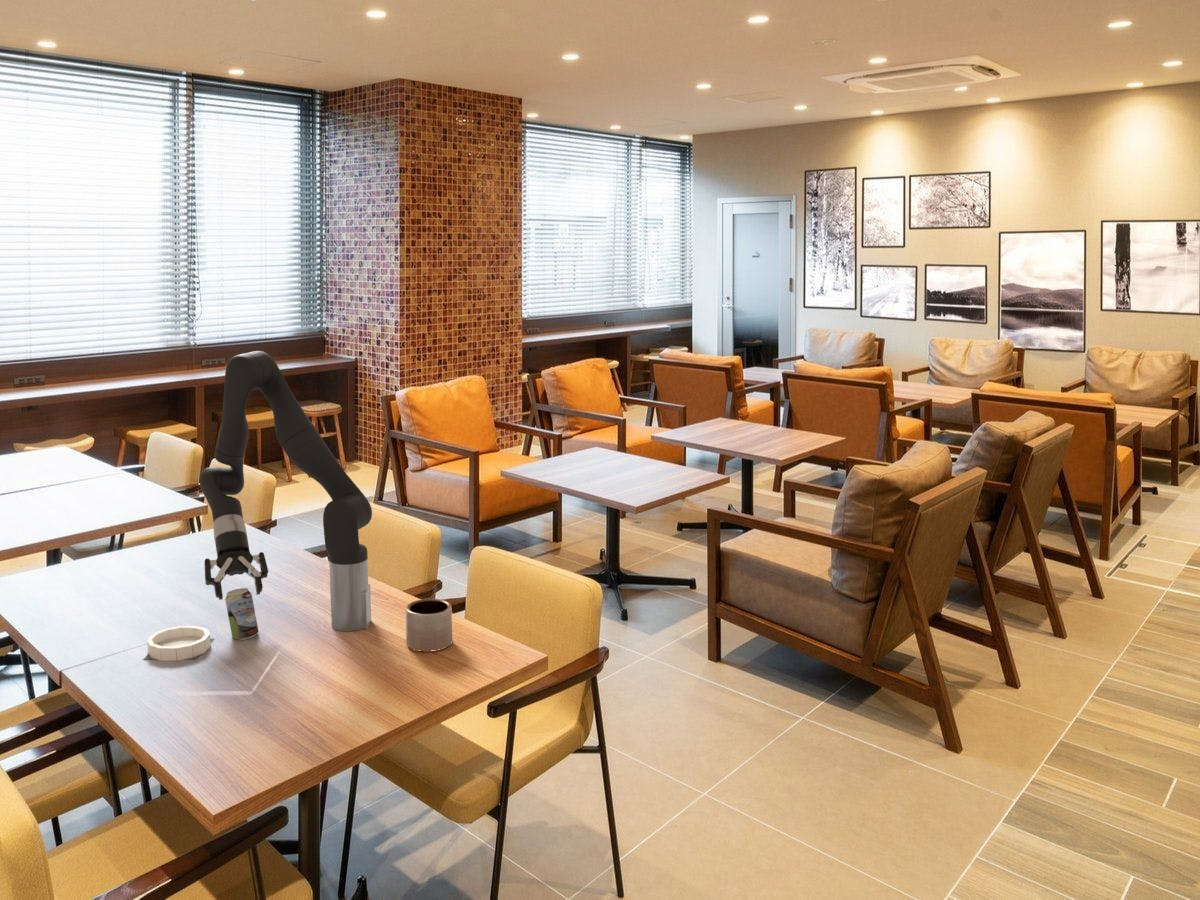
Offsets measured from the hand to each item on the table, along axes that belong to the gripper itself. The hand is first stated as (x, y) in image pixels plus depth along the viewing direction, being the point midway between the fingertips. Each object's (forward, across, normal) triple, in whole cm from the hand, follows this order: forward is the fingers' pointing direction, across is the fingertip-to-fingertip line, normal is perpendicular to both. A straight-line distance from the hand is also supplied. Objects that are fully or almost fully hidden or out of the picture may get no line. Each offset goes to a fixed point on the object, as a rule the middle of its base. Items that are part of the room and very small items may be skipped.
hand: (240, 595), depth 230 cm
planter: (+24, +39, -10) cm, 47 cm away
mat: (+10, -14, +5) cm, 18 cm away
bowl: (+9, -14, +4) cm, 18 cm away
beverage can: (+8, 0, +6) cm, 10 cm away
